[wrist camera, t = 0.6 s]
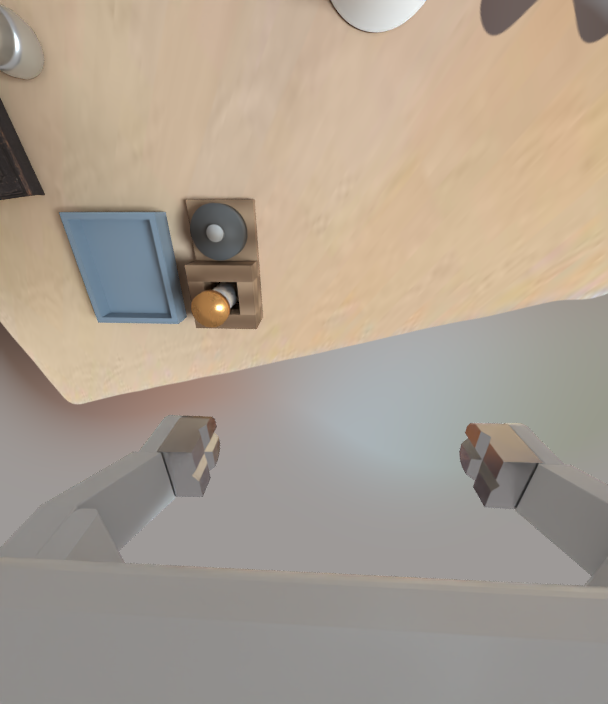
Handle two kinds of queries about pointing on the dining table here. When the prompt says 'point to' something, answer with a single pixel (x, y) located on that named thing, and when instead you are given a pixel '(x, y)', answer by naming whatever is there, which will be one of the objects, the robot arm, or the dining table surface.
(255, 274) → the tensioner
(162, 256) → the tray
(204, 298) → the pin
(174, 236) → the dining table surface
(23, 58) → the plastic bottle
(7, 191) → the hardcover book
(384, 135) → the dining table surface
